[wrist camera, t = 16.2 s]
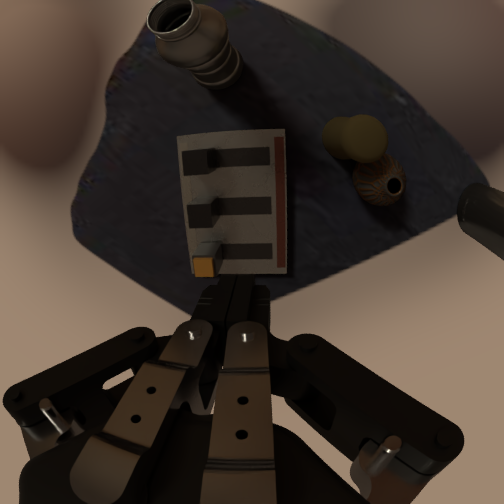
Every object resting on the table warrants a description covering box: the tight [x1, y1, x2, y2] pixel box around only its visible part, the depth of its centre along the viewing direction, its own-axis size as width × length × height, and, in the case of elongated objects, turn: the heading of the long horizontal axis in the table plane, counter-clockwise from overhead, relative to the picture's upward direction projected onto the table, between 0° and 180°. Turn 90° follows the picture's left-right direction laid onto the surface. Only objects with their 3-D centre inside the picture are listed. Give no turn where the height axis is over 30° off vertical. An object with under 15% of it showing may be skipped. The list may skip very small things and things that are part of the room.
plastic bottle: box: [146, 0, 243, 90], centre depth 22 cm, size 6×7×20 cm
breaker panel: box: [177, 129, 287, 274], centre depth 36 cm, size 14×20×6 cm
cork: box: [322, 115, 388, 163], centre depth 29 cm, size 6×6×11 cm
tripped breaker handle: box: [192, 243, 223, 277], centre depth 37 cm, size 3×3×5 cm
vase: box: [353, 153, 406, 206], centre depth 31 cm, size 7×7×9 cm
